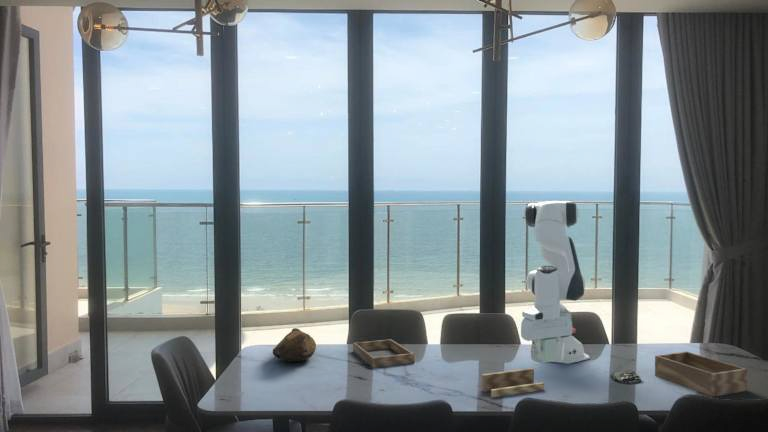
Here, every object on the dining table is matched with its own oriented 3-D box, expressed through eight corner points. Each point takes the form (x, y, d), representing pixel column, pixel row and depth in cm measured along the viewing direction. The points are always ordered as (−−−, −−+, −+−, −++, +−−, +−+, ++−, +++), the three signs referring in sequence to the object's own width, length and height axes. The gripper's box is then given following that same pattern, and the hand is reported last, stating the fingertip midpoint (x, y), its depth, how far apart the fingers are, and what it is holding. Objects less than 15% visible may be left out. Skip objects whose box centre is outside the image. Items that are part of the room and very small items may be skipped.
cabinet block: (549, 357, 208) (549, 331, 208) (556, 360, 205) (556, 334, 204) (538, 359, 206) (538, 333, 206) (545, 362, 203) (545, 335, 202)
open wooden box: (686, 370, 234) (686, 351, 234) (746, 390, 210) (747, 369, 210) (654, 375, 228) (655, 355, 228) (713, 396, 204) (713, 374, 204)
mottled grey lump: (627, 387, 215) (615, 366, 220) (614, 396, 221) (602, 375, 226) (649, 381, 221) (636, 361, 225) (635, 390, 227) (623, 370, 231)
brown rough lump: (306, 372, 233) (305, 336, 233) (262, 371, 235) (262, 335, 234) (324, 348, 270) (324, 317, 269) (286, 347, 272) (286, 316, 271)
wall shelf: (531, 383, 219) (531, 367, 219) (544, 389, 212) (544, 373, 211) (481, 390, 211) (481, 374, 211) (492, 397, 204) (493, 380, 203)
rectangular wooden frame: (391, 347, 272) (391, 339, 272) (414, 362, 247) (414, 353, 246) (353, 351, 265) (353, 343, 265) (373, 367, 240) (373, 358, 240)
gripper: (565, 307, 211) (565, 344, 212) (518, 312, 204) (518, 350, 205) (576, 310, 206) (576, 348, 206) (528, 316, 198) (529, 355, 199)
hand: (547, 349), depth 205 cm, fingers closed on cabinet block, 5 cm apart
